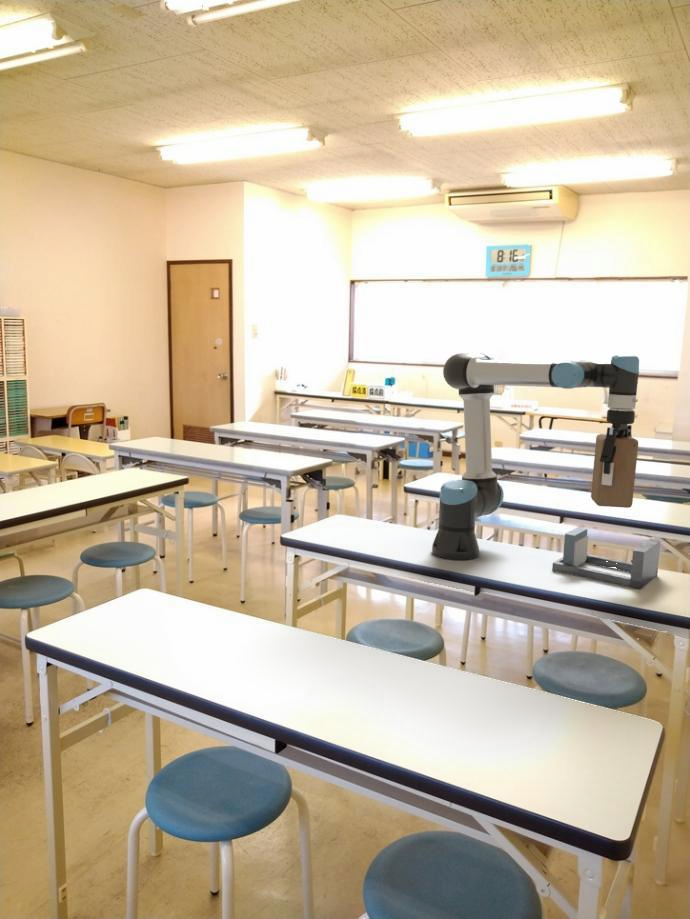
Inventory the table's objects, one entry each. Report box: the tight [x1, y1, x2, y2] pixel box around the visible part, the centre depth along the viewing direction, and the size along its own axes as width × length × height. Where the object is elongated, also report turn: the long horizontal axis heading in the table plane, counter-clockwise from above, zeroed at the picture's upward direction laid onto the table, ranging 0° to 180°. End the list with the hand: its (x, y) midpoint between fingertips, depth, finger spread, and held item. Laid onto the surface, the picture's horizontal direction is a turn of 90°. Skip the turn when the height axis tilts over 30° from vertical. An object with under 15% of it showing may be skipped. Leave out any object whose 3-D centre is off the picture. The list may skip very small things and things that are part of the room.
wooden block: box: [590, 433, 639, 509], centre depth 210 cm, size 10×10×20 cm
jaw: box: [562, 526, 589, 567], centre depth 222 cm, size 4×11×11 cm, turn 142°
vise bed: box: [551, 538, 662, 591], centre depth 217 cm, size 26×17×11 cm, turn 52°
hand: (614, 481), depth 210 cm, fingers closed on wooden block, 13 cm apart
